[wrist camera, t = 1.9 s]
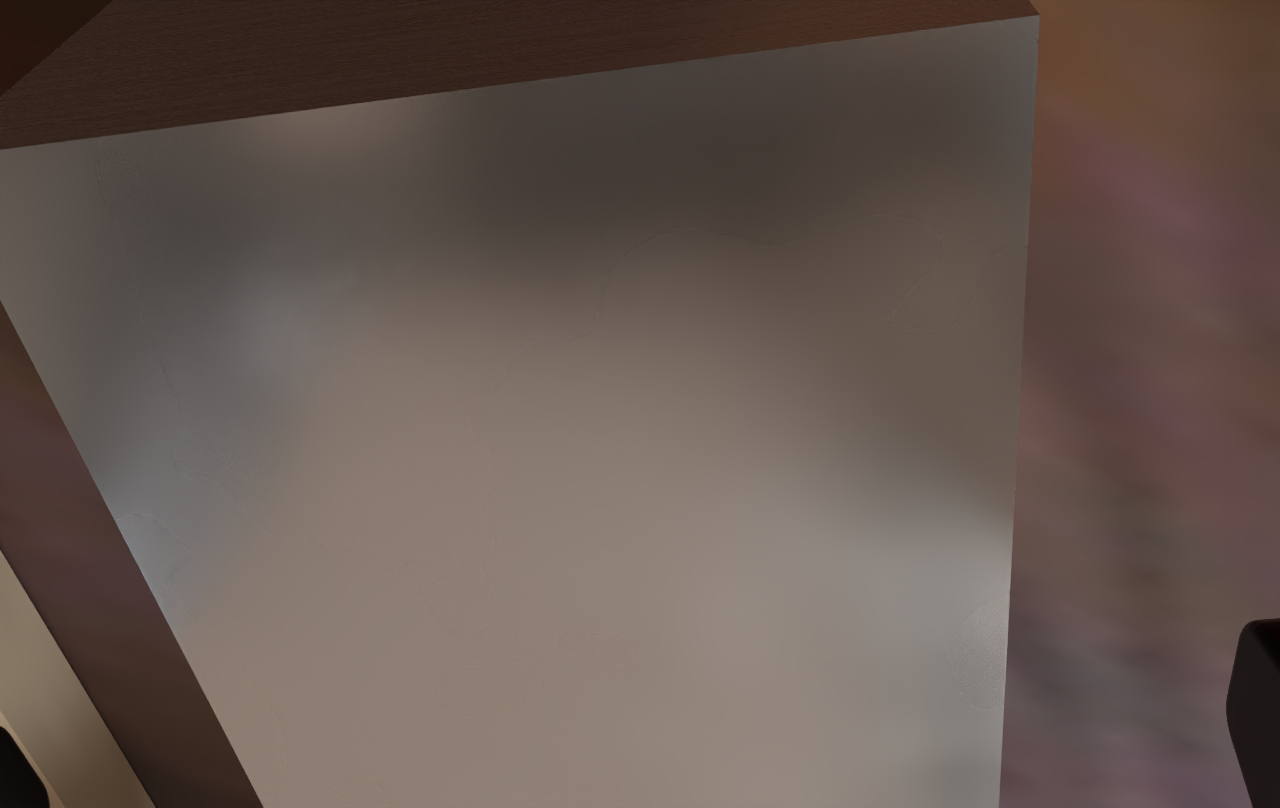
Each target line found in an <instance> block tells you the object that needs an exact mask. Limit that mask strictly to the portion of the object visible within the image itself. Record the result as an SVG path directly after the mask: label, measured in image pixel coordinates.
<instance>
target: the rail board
mask: <svg viewBox="0 0 1280 808" xmlns="http://www.w3.org/2000/svg"><path fill="white" fill-rule="evenodd" d="M0 726H1V727H3V728H5V729H6V730H7V731H8V732H9V733H10V735H11V736H12V738H13V739H14V741H15V742H16V743H17V745H18V746H19V748H20V749H21V751H22V752H23V754H24V755H25V757H26V758H27V760H28V761H29V763H30V764H31V766H32V767H33V769H34V770H35V772H36V773H37V775H38V776H39V778H40V779H41V781H42V782H43V784H44V785H45V787H46V789H47V793H48V796H49V803H50V808H155V806H154V804H153V803H152V801H151V799H150V798H149V796H148V794H147V793H146V791H145V789H144V788H143V786H142V784H141V783H140V781H139V779H138V778H137V776H136V774H135V773H134V771H133V769H132V768H131V766H130V764H129V763H128V761H127V760H126V758H125V756H124V755H123V753H122V751H121V750H120V748H119V746H118V745H117V743H116V741H115V740H114V738H113V736H112V735H111V733H110V731H109V730H108V728H107V726H106V725H105V723H104V721H103V720H102V718H101V716H100V715H99V713H98V711H97V710H96V708H95V706H94V705H93V703H92V701H91V700H90V698H89V696H88V695H87V693H86V692H85V690H84V688H83V687H82V685H81V683H80V682H79V680H78V678H77V677H76V675H75V673H74V672H73V670H72V668H71V667H70V665H69V663H68V662H67V660H66V658H65V657H64V655H63V653H62V652H61V650H60V648H59V647H58V645H57V643H56V642H55V640H54V638H53V637H52V635H51V633H50V632H49V630H48V628H47V627H46V625H45V623H44V622H43V620H42V619H41V617H40V615H39V614H38V612H37V610H36V609H35V607H34V605H33V604H32V602H31V600H30V599H29V597H28V595H27V594H26V592H25V590H24V589H23V587H22V585H21V584H20V582H19V580H18V579H17V577H16V575H15V574H14V572H13V570H12V569H11V567H10V565H9V564H8V562H7V560H6V559H5V557H4V555H3V554H2V552H1V550H0Z"/></svg>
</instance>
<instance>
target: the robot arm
mask: <svg viewBox="0 0 1280 808" xmlns="http://www.w3.org/2000/svg"><path fill="white" fill-rule="evenodd" d="M1226 714H1227V722H1228V727H1229V732H1230V736H1231V739H1232V742H1233V746H1234V749H1235V752H1236V755H1237V758H1238V762H1239V765H1240V768H1241V771H1242V774H1243V778H1244V781H1245V784H1246V787H1247V790H1248V794H1249V797H1250V800H1251V803H1252V806H1253V808H1280V618H1276V619H1264V620H1255V621H1251V622H1249V623H1248V624H1246V625H1245V627H1244V628H1243V629H1242V632H1241V634H1240V637H1239V642H1238V646H1237V651H1236V656H1235V661H1234V666H1233V670H1232V675H1231V680H1230V685H1229V690H1228V695H1227V701H1226ZM0 808H50V803H49V796H48V793H47V789H46V787H45V785H44V784H43V782H42V781H41V779H40V778H39V776H38V775H37V773H36V772H35V770H34V769H33V767H32V766H31V764H30V763H29V761H28V760H27V758H26V757H25V755H24V754H23V752H22V751H21V749H20V748H19V746H18V745H17V743H16V742H15V741H14V739H13V738H12V736H11V735H10V733H9V732H8V731H7V730H6V729H5V728H3V727H1V726H0Z"/></svg>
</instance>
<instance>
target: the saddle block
mask: <svg viewBox="0 0 1280 808" xmlns="http://www.w3.org/2000/svg"><path fill="white" fill-rule="evenodd" d="M1039 19H1040V15H1039V13H1038V12H1037V11H1036V9H1035V8H1034V7H1033V6H1032V4H1031V3H1030V2H1029V0H113V1H112V2H111V3H110V4H109V5H107V6H106V7H105V8H104V9H103V10H101V11H100V12H99V13H98V14H97V15H96V16H94V17H93V18H92V19H91V20H90V21H89V22H87V23H86V24H85V25H84V26H83V27H82V28H80V29H79V30H78V31H77V32H76V33H75V34H73V35H72V36H71V37H70V38H69V39H67V40H66V41H65V42H64V43H63V44H62V45H60V46H59V47H58V48H57V49H56V50H55V51H53V52H52V53H51V54H50V55H49V56H48V57H46V58H45V59H44V60H43V61H42V62H41V63H39V64H38V65H37V66H36V67H35V68H34V69H32V70H31V71H30V72H29V73H28V74H26V75H25V76H24V77H23V78H22V79H21V80H19V81H18V82H17V83H16V84H15V85H14V86H12V87H11V88H10V89H9V90H8V91H7V92H5V93H4V94H3V95H2V96H1V97H0V301H1V302H2V304H3V306H4V308H5V310H6V312H7V314H8V316H9V318H10V320H11V322H12V324H13V326H14V328H15V329H16V331H17V333H18V335H19V337H20V339H21V341H22V343H23V345H24V347H25V349H26V351H27V353H28V354H29V356H30V358H31V360H32V362H33V364H34V366H35V368H36V370H37V372H38V374H39V376H40V378H41V380H42V381H43V383H44V385H45V387H46V389H47V391H48V393H49V395H50V397H51V399H52V401H53V403H54V405H55V406H56V408H57V410H58V412H59V414H60V416H61V418H62V420H63V422H64V424H65V426H66V428H67V430H68V432H69V433H70V435H71V437H72V439H73V441H74V443H75V445H76V447H77V449H78V451H79V453H80V455H81V457H82V458H83V460H84V462H85V464H86V466H87V468H88V470H89V472H90V474H91V476H92V478H93V480H94V482H95V484H96V485H97V487H98V489H99V491H100V493H101V495H102V497H103V499H104V501H105V503H106V505H107V507H108V509H109V510H110V512H111V514H112V516H113V518H114V520H115V522H116V524H117V526H118V528H119V530H120V532H121V534H122V536H123V537H124V539H125V541H126V543H127V545H128V547H129V549H130V551H131V553H132V555H133V557H134V559H135V561H136V562H137V564H138V566H139V568H140V570H141V572H142V574H143V576H144V578H145V580H146V582H147V584H148V586H149V588H150V589H151V591H152V593H153V595H154V597H155V599H156V601H157V603H158V605H159V607H160V609H161V611H162V613H163V614H164V616H165V618H166V620H167V622H168V624H169V626H170V628H171V630H172V632H173V634H174V636H175V638H176V639H177V641H178V643H179V645H180V647H181V649H182V651H183V653H184V655H185V657H186V659H187V661H188V663H189V665H190V666H191V668H192V670H193V672H194V674H195V676H196V678H197V680H198V682H199V684H200V686H201V688H202V690H203V691H204V693H205V695H206V697H207V699H208V701H209V703H210V705H211V707H212V709H213V711H214V713H215V715H216V717H217V718H218V720H219V722H220V724H221V726H222V728H223V730H224V732H225V734H226V736H227V738H228V740H229V742H230V743H231V745H232V747H233V749H234V751H235V753H236V755H237V757H238V759H239V761H240V763H241V765H242V767H243V769H244V770H245V772H246V774H247V776H248V778H249V780H250V782H251V784H252V786H253V788H254V790H255V792H256V794H257V795H258V797H259V799H260V801H261V803H262V805H263V807H264V808H999V792H1000V773H1001V754H1002V734H1003V715H1004V696H1005V676H1006V657H1007V637H1008V618H1009V599H1010V579H1011V560H1012V541H1013V521H1014V502H1015V483H1016V463H1017V444H1018V425H1019V405H1020V386H1021V367H1022V347H1023V328H1024V309H1025V289H1026V270H1027V251H1028V231H1029V212H1030V193H1031V173H1032V154H1033V135H1034V115H1035V96H1036V77H1037V57H1038V38H1039Z"/></svg>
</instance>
